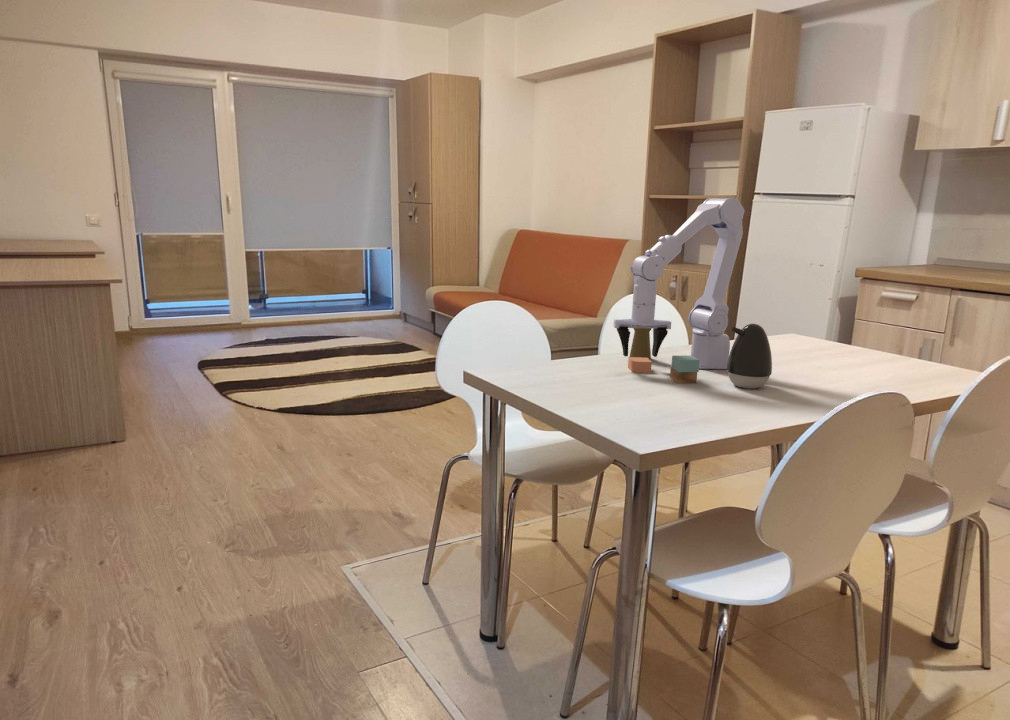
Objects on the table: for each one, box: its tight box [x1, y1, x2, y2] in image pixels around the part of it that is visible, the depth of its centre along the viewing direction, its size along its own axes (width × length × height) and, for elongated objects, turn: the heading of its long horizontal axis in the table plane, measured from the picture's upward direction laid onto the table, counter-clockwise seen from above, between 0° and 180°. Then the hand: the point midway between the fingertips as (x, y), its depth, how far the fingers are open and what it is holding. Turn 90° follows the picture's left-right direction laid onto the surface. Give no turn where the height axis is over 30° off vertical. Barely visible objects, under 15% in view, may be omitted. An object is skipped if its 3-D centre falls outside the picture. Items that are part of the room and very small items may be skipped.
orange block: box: [627, 356, 653, 373], centre depth 180 cm, size 5×5×3 cm
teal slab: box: [670, 355, 700, 373], centre depth 169 cm, size 5×5×3 cm
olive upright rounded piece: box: [628, 325, 653, 361], centre depth 193 cm, size 6×6×11 cm
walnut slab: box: [669, 367, 698, 384], centre depth 170 cm, size 5×5×3 cm
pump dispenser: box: [726, 323, 773, 390], centre depth 165 cm, size 10×10×15 cm
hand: (639, 355), depth 179 cm, fingers open, 7 cm apart
